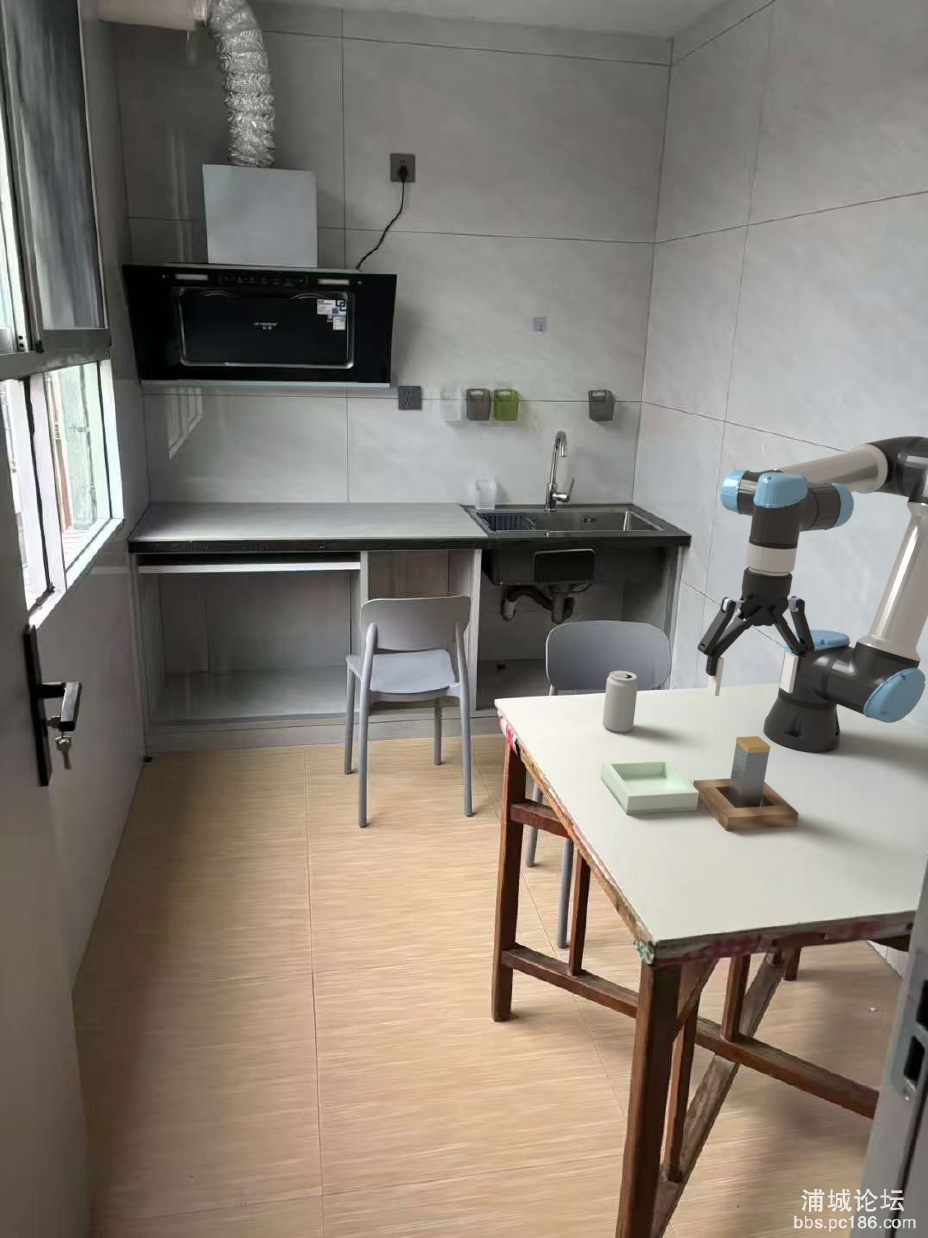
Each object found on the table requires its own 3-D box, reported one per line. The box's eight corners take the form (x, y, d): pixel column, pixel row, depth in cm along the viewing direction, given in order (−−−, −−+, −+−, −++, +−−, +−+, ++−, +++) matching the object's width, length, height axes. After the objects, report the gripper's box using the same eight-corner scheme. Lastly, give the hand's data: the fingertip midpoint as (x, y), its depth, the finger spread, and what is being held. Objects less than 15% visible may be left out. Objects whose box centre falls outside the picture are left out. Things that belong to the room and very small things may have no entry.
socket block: (757, 789, 160) (759, 776, 159) (796, 826, 148) (798, 813, 147) (692, 792, 157) (693, 780, 157) (726, 830, 145) (728, 817, 144)
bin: (665, 775, 163) (668, 758, 162) (696, 810, 151) (699, 792, 150) (600, 778, 161) (602, 761, 160) (626, 814, 149) (628, 796, 148)
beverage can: (632, 736, 180) (638, 682, 176) (601, 732, 181) (606, 678, 177) (632, 723, 186) (639, 671, 182) (602, 720, 187) (608, 667, 183)
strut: (747, 802, 155) (758, 736, 151) (759, 814, 151) (770, 746, 147) (726, 803, 154) (736, 737, 150) (737, 815, 150) (748, 747, 146)
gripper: (823, 563, 147) (803, 680, 153) (687, 564, 141) (672, 685, 148) (851, 575, 140) (828, 697, 146) (708, 576, 134) (691, 703, 141)
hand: (749, 691), depth 147 cm, fingers open, 13 cm apart
